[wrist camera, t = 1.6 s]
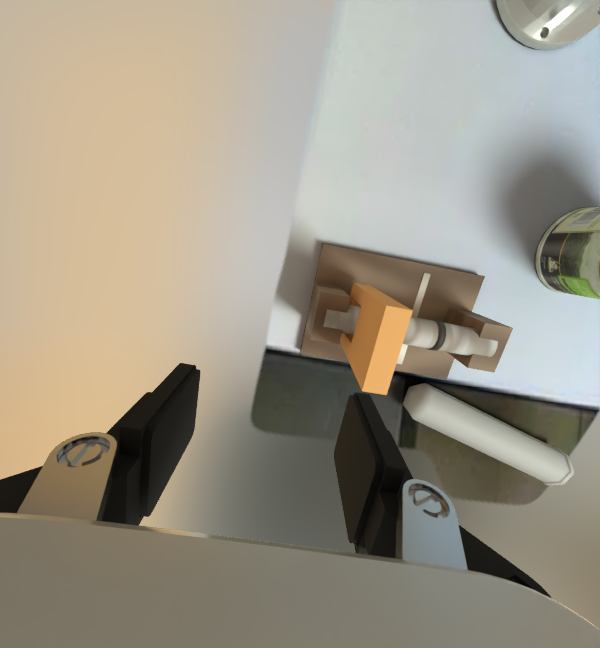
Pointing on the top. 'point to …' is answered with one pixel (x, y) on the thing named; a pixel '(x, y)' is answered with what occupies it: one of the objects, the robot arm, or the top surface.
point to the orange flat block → (375, 337)
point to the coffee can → (572, 254)
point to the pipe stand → (413, 292)
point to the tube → (487, 434)
